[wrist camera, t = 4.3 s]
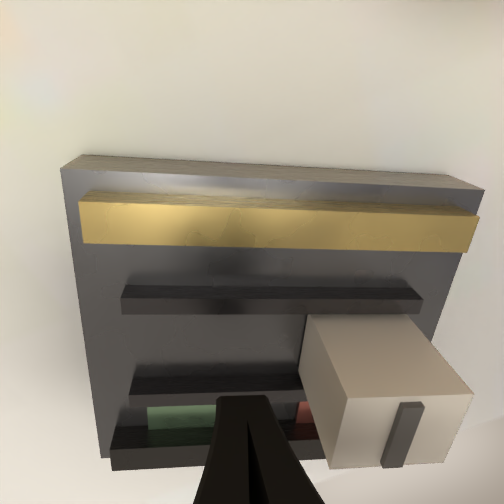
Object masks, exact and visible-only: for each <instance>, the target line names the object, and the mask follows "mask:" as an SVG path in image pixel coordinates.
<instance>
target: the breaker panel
mask: <svg viewBox="0 0 504 504" xmlns="http://www.w3.org/2000/svg"><path fill="white" fill-rule="evenodd" d="M60 172H61V179H62V186H63V193H64V200H65V207H66V214H67V221H68V228H69V235H70V242H71V249H72V256H73V264H74V271H75V278H76V285H77V292H78V299H79V306H80V313H81V320H82V327H83V334H84V341H85V348H86V355H87V362H88V369H89V377H90V384H91V391H92V398H93V405H94V412H95V419H96V426H97V433H98V440H99V447H100V454H101V458H110V459H111V467H112V471H121V470H138V469H156V468H173V467H191V466H205V463H206V459H207V456H208V452H209V448H210V444H211V439H212V435H213V430H214V424H215V415H216V399H217V398H219V397H220V396H237V395H265V396H267V397H268V399H269V402H270V404H271V406H272V409H273V411H274V413H275V416H276V418H277V420H278V422H279V424H280V426H281V428H282V430H283V432H284V434H285V436H286V438H287V440H288V442H289V444H290V446H291V448H292V449H293V451H294V453H295V455H296V457H297V458H298V460H312V459H326V457H325V453H324V450H323V447H322V444H321V441H320V438H319V435H318V431H317V428H316V425H315V422H314V419H313V416H312V413H311V409H310V406H309V403H308V400H307V397H306V394H305V390H304V387H303V384H302V381H301V378H300V375H299V372H298V368H299V363H300V357H301V351H302V345H303V339H304V334H305V328H306V322H307V316H308V314H407V315H408V317H409V318H410V319H411V320H412V321H413V322H414V324H415V325H416V326H417V327H418V328H419V329H420V331H421V332H422V333H423V334H424V335H425V337H426V338H427V339H428V340H429V341H430V342H431V340H432V338H433V335H434V332H435V329H436V326H437V324H438V321H439V318H440V315H441V312H442V309H443V307H444V304H445V301H446V298H447V295H448V293H449V290H450V287H451V284H452V281H453V278H454V276H455V273H456V270H457V267H458V264H459V262H460V259H461V256H462V253H467V251H468V249H469V246H470V243H471V240H472V238H473V235H474V232H475V229H476V226H477V224H478V221H479V218H480V217H479V216H477V215H476V214H477V211H478V208H479V205H480V202H481V200H482V197H483V194H484V191H485V190H484V189H481V188H479V187H476V186H474V185H472V184H469V183H467V182H464V181H462V180H459V179H457V178H454V177H452V176H449V175H436V174H418V173H401V172H383V171H365V170H347V169H329V168H311V167H293V166H275V165H257V164H239V163H221V162H204V161H186V160H168V159H150V158H132V157H114V156H96V155H81V156H79V157H77V158H76V159H74V160H73V161H71V162H69V163H68V164H66V165H65V166H63V167H62V168H60Z"/></svg>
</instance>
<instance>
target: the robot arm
mask: <svg viewBox="0 0 504 504" xmlns="http://www.w3.org/2000/svg"><path fill="white" fill-rule="evenodd" d="M193 504H325V503H324V502H323V500H322V498H321V497H320V495H319V494H318V492H317V491H316V489H315V487H314V486H313V484H312V482H311V481H310V479H309V477H308V476H307V474H306V472H305V471H304V469H303V467H302V465H301V464H300V462H299V460H298V458H297V457H296V455H295V453H294V451H293V449H292V448H291V446H290V444H289V442H288V440H287V438H286V436H285V434H284V432H283V430H282V428H281V426H280V424H279V422H278V420H277V418H276V416H275V413H274V411H273V409H272V406H271V404H270V402H269V399H268V397H267V396H265V395H237V396H220V397H219V398H217V399H216V415H215V424H214V430H213V435H212V439H211V444H210V448H209V452H208V456H207V459H206V463H205V467H204V471H203V474H202V478H201V481H200V484H199V487H198V490H197V493H196V496H195V499H194V502H193Z"/></svg>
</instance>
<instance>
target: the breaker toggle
mask: <svg viewBox="0 0 504 504" xmlns="http://www.w3.org/2000/svg"><path fill="white" fill-rule="evenodd" d="M298 372H299V375H300V378H301V381H302V384H303V387H304V390H305V394H306V397H307V400H308V403H309V406H310V409H311V413H312V416H313V419H314V422H315V425H316V428H317V431H318V435H319V438H320V441H321V444H322V447H323V450H324V453H325V457H326V460H327V463H328V466H329V469H346V468H362V467H378V466H382V468H399V467H403V465H409V464H426V463H443V462H444V460H445V458H446V456H447V454H448V451H449V449H450V447H451V445H452V443H453V440H454V438H455V436H456V434H457V432H458V429H459V427H460V425H461V423H462V421H463V418H464V416H465V414H466V412H467V410H468V407H469V405H470V403H471V401H472V398H473V396H474V393H473V392H472V391H471V389H470V388H469V387H468V386H467V385H466V384H465V382H464V381H463V380H462V379H461V378H460V377H459V375H458V374H457V373H456V372H455V371H454V369H453V368H452V367H451V366H450V365H449V364H448V362H447V361H446V360H445V359H444V358H443V357H442V355H441V354H440V353H439V352H438V351H437V349H436V348H435V347H434V346H433V345H432V344H431V342H430V341H429V340H428V339H427V338H426V337H425V335H424V334H423V333H422V332H421V331H420V329H419V328H418V327H417V326H416V325H415V324H414V322H413V321H412V320H411V319H410V318H409V317H408V315H407V314H308V316H307V322H306V328H305V334H304V339H303V345H302V351H301V357H300V363H299V368H298Z"/></svg>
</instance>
